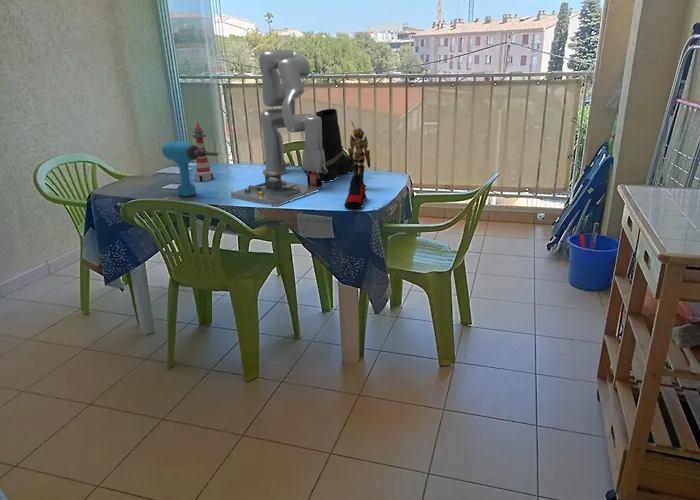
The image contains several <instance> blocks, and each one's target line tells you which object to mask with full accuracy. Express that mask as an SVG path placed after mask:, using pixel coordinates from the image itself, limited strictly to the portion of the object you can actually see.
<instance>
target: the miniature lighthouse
mask: <svg viewBox="0 0 700 500" xmlns="http://www.w3.org/2000/svg"><path fill="white" fill-rule="evenodd" d="M202 129H203V127H202V126H200V125H199V121H198V120H196V126H195V127H193V134H192V138H193V139H196V140H195V141H196V143H195V144H196V145H195V146H197V147H198V149H202V150H206V147H205V142H204V138H206V135H207V134H205V131H204V130H202ZM203 133H204V134H203ZM214 171H215V170H214V169H212V168H211V167H210V163H209V159H208V155H206V156H204V157H198V158H197V159H196V170H194V178H195V181H197V182H208V181H213V180H214V175H213V174H214Z"/></svg>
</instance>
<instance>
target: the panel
mask: <svg viewBox="0 0 700 500" xmlns="http://www.w3.org/2000/svg"><path fill="white" fill-rule="evenodd" d="M316 190H319V191H320V187H317V186H311V185H308V184H305V183H304V184H303V183H297V182H293V181H287V180H282V188H280V189H277V190H274V189H269V188H266V186H265V182H262V183H259V184H255V185H251V184H250V185H248V187H246V188H243V189H239V190H236V191H232V192H230V197H231V198H232V199H237V200H241V201H247V202H251V203H256V202H257V203H256V204H260V203H264V204H263V205H265V204H270V205H275V206H276V205H279V204H281V203H284V202H286V201H289V200H292V199H294V198H297V197H300V196H303V195H306V194H308V193H311V192H313V191H316ZM270 205H269V206H270ZM275 206H274V207H275ZM279 206H280V205H279ZM276 207H277V206H276Z"/></svg>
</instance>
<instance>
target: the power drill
mask: <svg viewBox="0 0 700 500" xmlns="http://www.w3.org/2000/svg"><path fill="white" fill-rule="evenodd" d="M161 152H162V155H163V157H164V158H166V159H168V160H170V161H173V162H174V163H176V164H177V165H178V168H179V175H180V181H181V184H180V185H178V186H177V190H178V196H179V197H182V198H190V197H194V196H196V195H197V191H196V184H194V183H191V179H190V170H189V163H191V162H192V161H195V160H196V161H197V158H198V157H204V156H206V155H207V156H211V157H213V156H215V157H218V156H219V153H218V152H217V151H216V152H215V151H213V152H212V151H207V150H206V149H205V150H202V149H198V147H197V146H196V145H194V144H193V143H191V142H189V141H180V140H179V141H177V140H176V141H175V140H174V141H170V142H168V143H166V144H164V145H163V146H162V148H161Z"/></svg>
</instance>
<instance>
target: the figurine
mask: <svg viewBox="0 0 700 500" xmlns="http://www.w3.org/2000/svg"><path fill="white" fill-rule="evenodd" d="M350 123H351V125H352V127H353V130H352V132H353V134H351V135H350V139H349V140H350V141H349V144H350V145H349V147H348V148H347V150H348V151H347V152H348V156H349V160H350V165H351V166H352V161H354V171H353V172H352V176H353V175H355V174H360V175H361V178H362V179H363V180H364V174H365V167H366V166H365V164H364V163H365V161H366V164H367V168H371V157H370V149H368V147H369V146H368V145H369V143H368V137H367V135H365V131H363V130H362V129H361V127H359V128H355V125H354V122H353V121H352V120H351V122H350ZM364 135H365V136H364ZM354 150H355V151H354ZM365 187H367V185H366V184H365Z"/></svg>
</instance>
